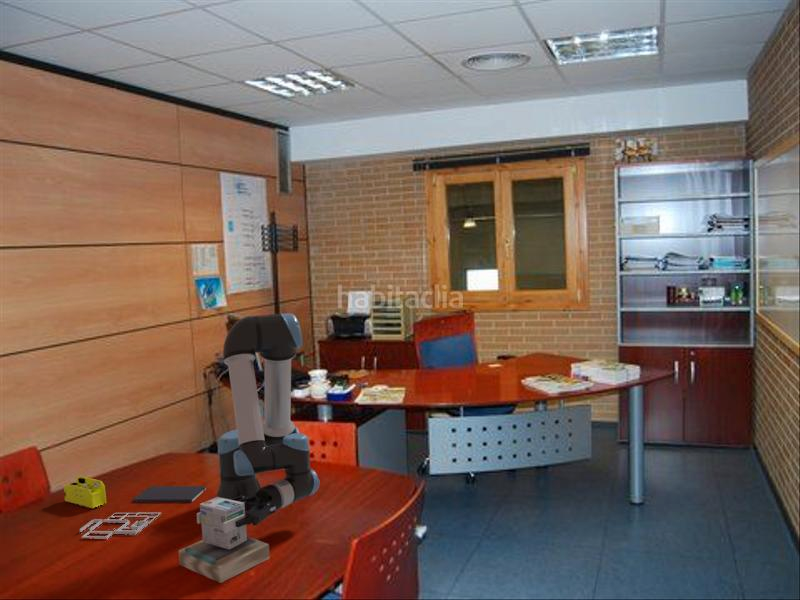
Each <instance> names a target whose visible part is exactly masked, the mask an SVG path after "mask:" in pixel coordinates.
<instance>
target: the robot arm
mask: <svg viewBox="0 0 800 600" xmlns="http://www.w3.org/2000/svg"><path fill="white" fill-rule="evenodd" d="M223 343H224V344H223V349H222V356H223V357H222V358H223V363H224V364H225V365H226V366H227V368H228V374H229V382H230V389H231V395H232V396H231V397H232V403H233V404H232V405H233V410H234V418H235V426H236V429H233V430H230V431H228V432H225V433H224V434H221V436H220V437H219V439H218V440H217V454H218V464H219V479H220V481H219V484H218V488H217V494H216V496H215V498H216V497H221V498H225V499H229V500H234V501H239V502H244V507H245V515H244V514H243V515H240V516H238V517H235V518H233V519H231V520H228V521H226V522H224V523H223V531H224V533H225V534H226V533H228V532H230V531H232V530H235V529H237V528H239V527H241V526H244V525H246V526H247V525H248V526H249V525H251V524H252V525H253V526H257V525H258V524H260V523H261V522H262V521H264V520H265V519H266V518H267V517H269V516H270V515H273V514H275V513H276V511H278V510H279V509H284V508H285V507H286V506H289V505H291V504H294V503H296V502H298V501H300V500H303V499H306V498H309V497H310V496H312V495H313V494H315V493H317V491H318V490H319V488H320V478H318V477H319V476H318V474H317V472H316V471H315V470H314V469H311V458H310V457H311V456H310V454H311V453H310V450H311V449H310V443H309V437H308V436H307V435H306V434H304V433H301V432H300V431H299V428H298V426H296V425H295V423H294V422H293V421H292V420H291V407H292V406H291V402H292V401H291V399H292V398H291V396H292V395H291V393H292V392H291V391H292V390H291V389H292V360H293V359H294V358H295V357H296V355H297V350H300V349H301V348H302V347H303V336H302V331H301V326H300V323H299V321H298V318H297V317H296V315H295V314H293V313H289V312H288V313H281V312H280V313H273V314H265V315H264V314H263V315H249V316H246V317H245V316H244V317H243V318H241V319H239V320H237V321H236V322H235V323H234V324H233V326H231V328H230V329H229V331H228V332H227V334H226V337H225V339H224V342H223ZM257 353H259V356H260V357H261V359H263V360H264V421H263V419H262V413H261V405H260V400H259V393H258V388H257V379H256V371H255V367H254V361H255V360H256V358H257V357H256V354H257ZM280 470H284V473H285V477H284V478H282V479H279V480H277V481H274V482H272V483H270V484H267V485H265V486H261V484H260V482H259V479H258V477H257V475H259V474H264V473H270V472H274V471H280ZM196 523H197V524H201V512H200V511H199V512H197V513H196Z"/></svg>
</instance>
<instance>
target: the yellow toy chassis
mask: <svg viewBox="0 0 800 600" xmlns="http://www.w3.org/2000/svg"><path fill="white" fill-rule="evenodd" d="M75 480H76V481H75V482H72V483H66V484H65V485H64V486H63V492H64V502H67V503H71V504H75V505H77V504H78V505H79V506H80V507H85V508H89V509H90V508H91V509H94V508H95V507H97V508H99V507H101V506H100V505H102V506H104V504H107V494H106V486H105V484H104V483H103V481H102V480H98V479H94V478H90V477H86V476H82V475H78V476H77V478H76V479H75ZM78 505H77V506H78ZM98 506H99V507H98ZM95 509H96V508H95Z"/></svg>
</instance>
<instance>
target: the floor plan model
mask: <svg viewBox="0 0 800 600" xmlns="http://www.w3.org/2000/svg"><path fill="white" fill-rule="evenodd" d="M114 514H126V515H115V516H113V515H114ZM128 514H136V515H128ZM138 514H151V515H139V516H137V515H138ZM155 514H158V515H155ZM160 514H161V515H162V512H161V511H160V512H145V511H144V512H139V511H138V512H115V513H113V514H112V515H111V516H109V517H108V518H107V519H106V518H105V519H102V518H100V519H98V518H97V519H96V518H95V519H92V520H90V521H89V522H87V523H86V524H84V525H83V526H81V528H79V533H80V532H82V531H83V530H85V529H86V528H87V527H89V526H90V525H91V524H93V523H96V524H94V525H92V526H91V527H90V528H88V529H89V531H87V532H86V533H84V534H83V535H82V536H81V539H82V538H90V539H92V538H94V539H107V540H109V539H110V538H111V537H113V536H114V535H113V534H125V535H124V536H137V535H138V534H139V533H140V532H141V531H143V530H144V529H145V528H146V527H148V524H149V525H151V524H152V523H153V522H154V521H155V520H156V519H157V518H156V517H158V516H159V515H160ZM127 515H128V516H127ZM161 515H160V516H161ZM160 516H159V517H160ZM110 517H111V518H115V517H121V518H119V519H109V518H110ZM125 517H147V518H143V519H144V520H140V521H138V520H136V521H135V522H134V523H133V524H131V522H130V520H129V519H126V518H125ZM159 517H158V518H159ZM124 518H125V519H124ZM149 518H153V519H149ZM155 518H156V519H155ZM122 519H124V520H122ZM147 519H149V520H147ZM154 519H155V520H154ZM146 520H147V521H146ZM153 520H154V521H153ZM152 521H153V522H152ZM103 522H108V523H111V522H113V523H125V524H121V526H120V527H118V528H116V529H115V528H113V530H114V529H115V530H114V531H113V530H109V531H108V530H104V531H103V530H94V529H95V528H96V527H98V526H99V525H100V524H102V523H103ZM151 522H152V523H151ZM150 523H151V524H150ZM129 524H130V525H129ZM102 525H103V524H102ZM127 525H129V526H130V527H129V526H127ZM137 525H138V526H137ZM126 526H127V527H126ZM144 527H145V528H144ZM98 528H99V527H98ZM143 528H144V529H143ZM122 529H129V530H122ZM131 529H132V530H131ZM136 529H137V530H136ZM142 529H143V530H142ZM92 530H94V531H92ZM85 531H86V530H85ZM138 532H139V533H138ZM90 533H95V534H97V533H99V534H108V535H105V536H104V535H89V534H90ZM137 533H138V534H137ZM127 534H129V535H127ZM133 534H134V535H133ZM136 534H137V535H136ZM87 535H89V536H87ZM112 535H113V536H112ZM110 536H111V537H110ZM109 537H110V538H109ZM108 538H109V539H108Z"/></svg>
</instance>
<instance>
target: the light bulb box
mask: <svg viewBox="0 0 800 600" xmlns="http://www.w3.org/2000/svg"><path fill="white" fill-rule="evenodd" d="M199 510H200V511H199V512H201V523H200V524H201V536H202V540H203V542H205V543H209V544H212V545H215V546H219V547H222V548H226V549H231V548H233V547H235V546H237V545H239V544H241V543H243V542H245V541H247V536H248V535H247V534H248V533H247V524H246V525H244V526H241V527H239V528H237V529H235V530H232V531H230V532H228V533H226V534H225V533H224V531H223V523H224V522H226V521H228V520H231V519H233V518H235V517H238V516H240V515H243V514H244V515H245V516H246V511H245V507H244V502H239V501H234V500H229V499H225V498H221V497H216V496H215V497H214V498H211V499H209V500H206V501H204V502H201V503H199Z"/></svg>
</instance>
